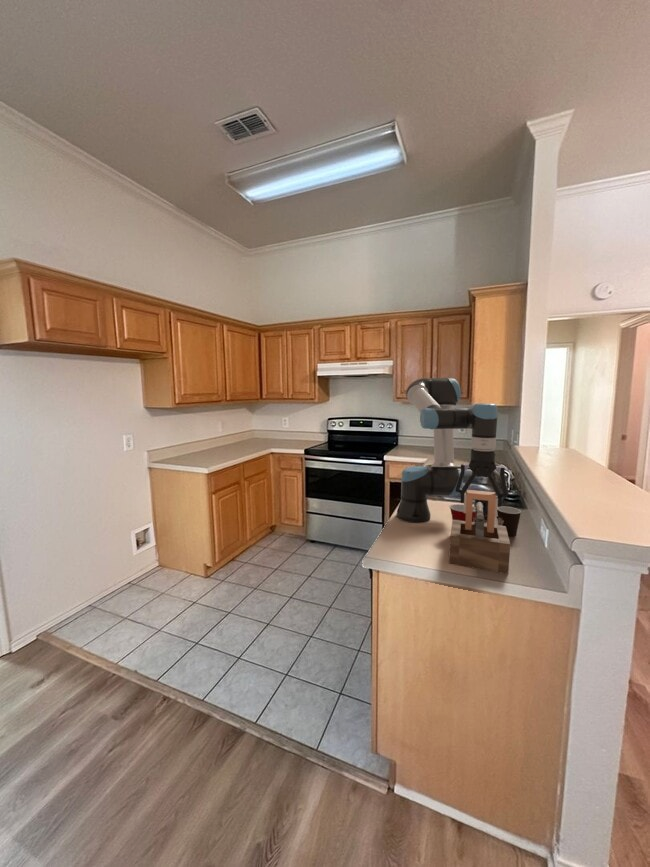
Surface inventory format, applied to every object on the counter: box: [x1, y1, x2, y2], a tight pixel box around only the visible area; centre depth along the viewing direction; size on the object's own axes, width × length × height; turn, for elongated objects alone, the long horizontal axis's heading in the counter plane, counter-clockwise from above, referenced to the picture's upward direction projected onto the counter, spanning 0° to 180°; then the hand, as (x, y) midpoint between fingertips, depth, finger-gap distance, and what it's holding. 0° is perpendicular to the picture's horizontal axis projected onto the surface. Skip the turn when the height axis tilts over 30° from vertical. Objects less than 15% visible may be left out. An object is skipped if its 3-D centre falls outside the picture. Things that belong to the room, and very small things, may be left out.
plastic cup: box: [448, 503, 476, 522], centre depth 143 cm, size 11×11×12 cm
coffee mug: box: [495, 506, 522, 538], centre depth 146 cm, size 12×9×10 cm
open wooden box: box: [448, 502, 511, 574], centre depth 123 cm, size 16×18×18 cm
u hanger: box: [465, 489, 497, 533], centre depth 122 cm, size 4×9×13 cm, turn 68°
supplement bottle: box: [473, 499, 488, 521], centre depth 162 cm, size 7×7×12 cm
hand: (479, 513), depth 122 cm, fingers closed on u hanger, 9 cm apart
